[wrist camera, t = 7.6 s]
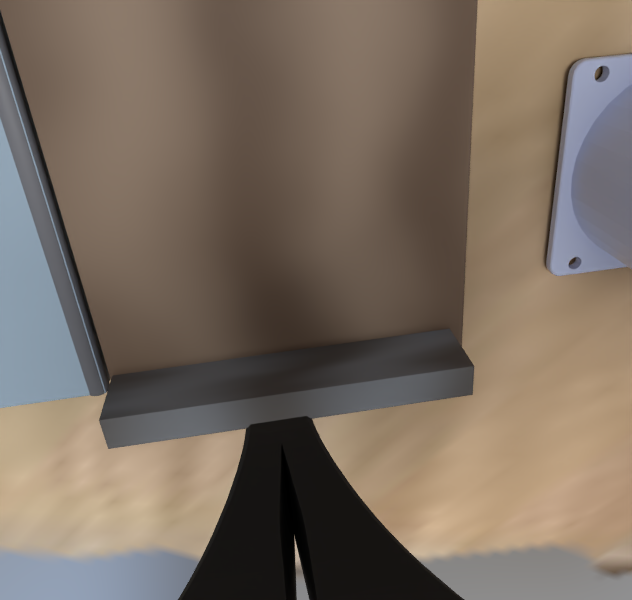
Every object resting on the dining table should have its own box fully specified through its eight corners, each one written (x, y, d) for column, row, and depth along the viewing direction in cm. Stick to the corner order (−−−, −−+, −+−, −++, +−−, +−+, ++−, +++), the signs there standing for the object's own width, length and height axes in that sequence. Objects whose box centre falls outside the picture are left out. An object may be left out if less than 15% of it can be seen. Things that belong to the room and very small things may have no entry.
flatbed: (464, -349, 15) (549, -471, 11) (444, 327, 24) (486, 392, 20) (-70, -325, 14) (-189, -450, 10) (125, 371, 23) (105, 449, 19)
